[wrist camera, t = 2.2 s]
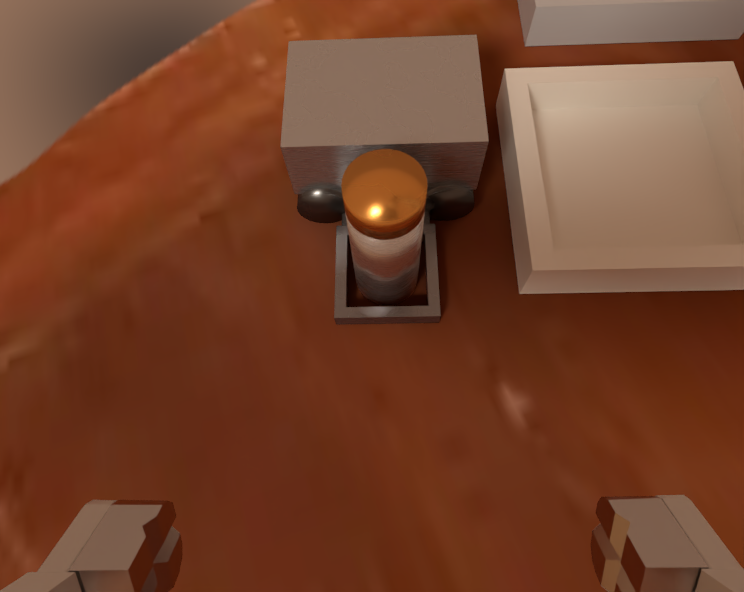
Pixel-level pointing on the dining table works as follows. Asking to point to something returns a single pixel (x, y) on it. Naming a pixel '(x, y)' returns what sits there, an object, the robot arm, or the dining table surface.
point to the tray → (624, 176)
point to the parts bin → (629, 21)
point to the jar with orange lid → (385, 223)
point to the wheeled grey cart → (384, 136)
